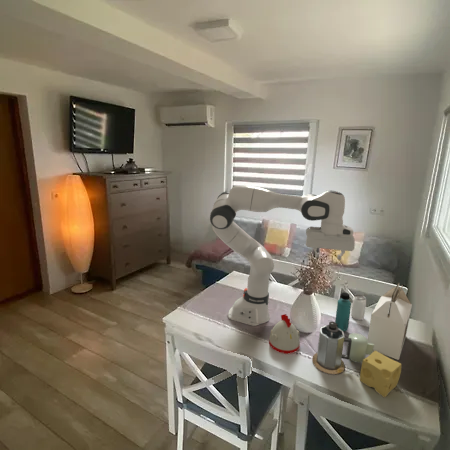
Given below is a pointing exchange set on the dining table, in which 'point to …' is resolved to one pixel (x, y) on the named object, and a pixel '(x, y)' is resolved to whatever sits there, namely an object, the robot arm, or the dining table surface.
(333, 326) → the plunger
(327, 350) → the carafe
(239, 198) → the robot arm
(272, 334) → the kitchen timer
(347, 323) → the beverage bottle
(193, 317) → the dining table surface
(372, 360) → the cheese
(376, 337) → the gable box
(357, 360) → the mug
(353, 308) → the can
